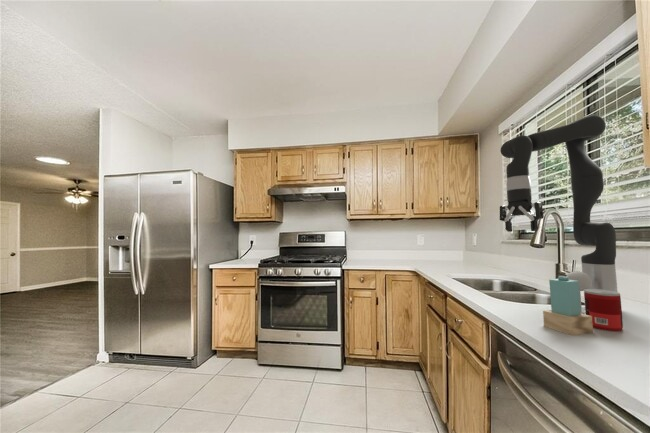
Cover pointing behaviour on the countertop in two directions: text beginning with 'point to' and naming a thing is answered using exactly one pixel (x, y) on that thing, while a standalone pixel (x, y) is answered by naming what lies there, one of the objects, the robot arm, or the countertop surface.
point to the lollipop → (580, 281)
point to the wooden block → (568, 322)
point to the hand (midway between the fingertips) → (521, 231)
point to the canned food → (604, 309)
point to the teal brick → (565, 296)
